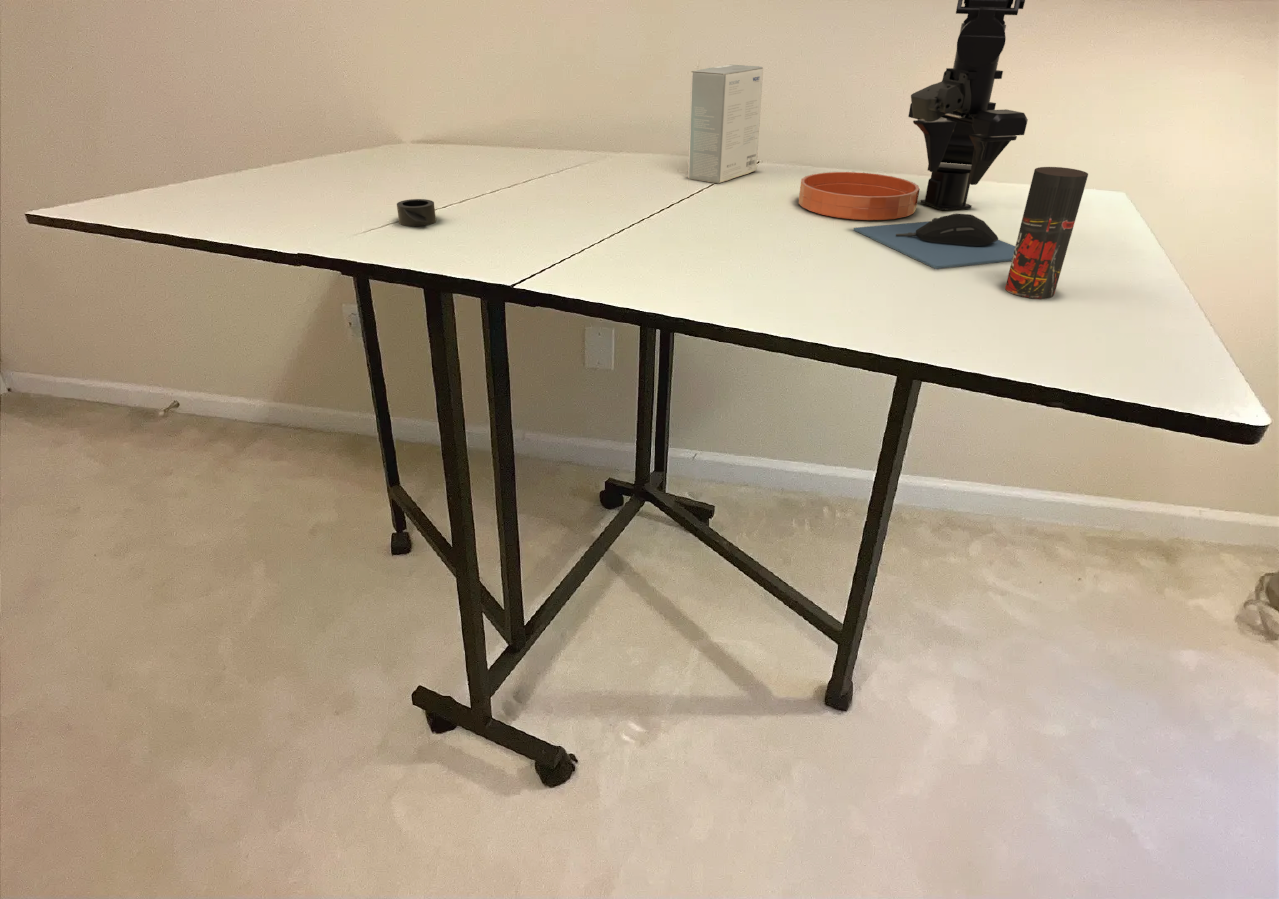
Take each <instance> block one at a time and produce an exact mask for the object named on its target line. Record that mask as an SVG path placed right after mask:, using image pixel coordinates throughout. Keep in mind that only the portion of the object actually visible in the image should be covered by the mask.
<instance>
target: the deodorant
mask: <svg viewBox="0 0 1279 899" xmlns="http://www.w3.org/2000/svg"><path fill="white" fill-rule="evenodd" d="M1088 177H1089V173H1088V172H1086V171H1084V170H1081V169H1076V168H1070V167H1062V166H1039V167H1036V168H1035V169H1034V170H1033V175H1032V179H1031V182H1030V187H1029V191H1028V194H1027V198H1026V201H1025V202H1026V203H1025V207H1024V210H1023V214H1022V219H1021V222H1020V226H1019V231H1018V235H1017V238H1016V243H1015V245H1014V246H1015V250H1014V254H1013V258H1012V261H1010V266H1009V271H1008V274H1007V278H1006V282H1005V286H1004V287H1005V288H1004V289H1005V291H1006V292H1008V293H1009V294H1012V295H1013V296H1016V297H1022V298H1027V299H1034V300H1045V299H1046V300H1047V299H1051V298H1053V297H1055V294H1056V290H1057V286H1058V282H1059V279H1060V275H1061V272H1062V269H1063V265H1064V262H1065V258H1066V255H1067V252H1068V248H1069V243H1070V242H1071V241H1070V240H1071V238H1072V234H1073V231H1074V226H1075V223H1076V220H1077V216H1078V213H1079V210H1080V206H1081V202H1082V198H1083V195H1084V191H1085V188H1086V184H1087V181H1088Z"/></svg>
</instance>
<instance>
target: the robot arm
mask: <svg viewBox="0 0 1279 899" xmlns="http://www.w3.org/2000/svg"><path fill="white" fill-rule="evenodd" d="M1025 2H1026V0H957V5H956V10H955V15H956V14H957V15H967V16H966V18H965V19H964V20H963V22H962V23H961V25H960V30H959V35H958V36H957V41H956V51H955V56H954V62H953V66H952V67H946V69H945V70H944V72H943V76H942V79H941V81H939V82H937V83H933V84H931V85H928V86H926V87H924V88H921V89H919V90H918V91H915V92H913V93H912V94H910V103H909V104H910V105H909V109H908V110H909V111H908V116H907V118H911V119H914V120H912V123H913V124H914V125H915V126H917V127H918V129H919V130H920V131H921V132H922V133H923V136H924V142H925V147H926V155H927V162H928V164H927V171H929V172H931V175H930V178H929V179H928V182H927V187H926V192H925V198H924V199H920V202H919V203H920V204H923V205H926V206H928V207H931V208H934V209H936V210H939V211H955V210H967V209H972V206H973V205H972V204H969V203H967V200H968V196H969V191H970V188H971V186H976V185H978V184H979V183H980V182H981V180H982V178H983V177H984V176H985V174H986V173H987V172H988V171H989V169H990V167H991V166H992V164H994V162H995V160H996V159H997V158H998V157H999V155H1000V154H1001V153H1002V152H1003V151H1004V150H1005V149H1006V147H1007V146H1008V145H1009V144H1010V143H1011V142H1012V141H1013V142H1014V141H1016V140H1017V138H1018V136H1024V135H1025V133H1026V128H1027V125H1028V120H1029V119H1028V117H1027V116H1026V113H1025V112H1021V111H1017V110H1012V109H1007V108H1006V109H1005V108H1004V109H996V106H997V103H996V102H993V101H991V97H992V92H993V89H994V88H993V87H994V83H995V80H1002V78H1003V73H1004V71H1003V70H1001V69H1000V70H999V69H998V65H999V60H1000V57H1001V54H1002V52H1003V51H1004V48H1005V44H1006V40H1007V39H1006V38H1007V37H1006V28H1007V24H1006V22H1005V16H1018V14H1019V10H1023V9H1024V6H1025ZM963 4H964V6H962V5H963ZM1013 4H1014V5H1013ZM1012 5H1013V7H1012Z"/></svg>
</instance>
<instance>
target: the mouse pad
mask: <svg viewBox="0 0 1279 899" xmlns="http://www.w3.org/2000/svg"><path fill="white" fill-rule="evenodd" d="M930 221H931V220H930ZM930 221H920V222H919V221H917V222H908V223H907V222H906V223H895V224H882V225H872V226H871V225H870V226H860V227H853V231H854V232H857V233H859V234H861V235H863V236H865V237H867V238H869V239H871V240H874V241H876V242H877V243H880V244H882V245H883V246H886V247H888V248H889V249H892V250H895V251H897V252H898V253H901V254H903V255H906V256H907V257H910V258H911V259H914V260H916V261H918V262H920V263H922V264H924V265H926V266H929V267H931V268H933V269H934V270H937V269H949V268H957V267H968V266H975V265H985V264H995V263H996V264H997V263H1003V262H1004V263H1006V262H1012V258H1013V254H1014V250H1015V246H1016V245H1013V244H1010V243H1008V242H1005V241H1002V240H1000V239H998V240H997V241H995V242H992V243H990V244H987V245H984V246H965V245H955V244H943V243H932V242H927V241H924V240H922V239H920V238H919V237H917V236H912V237H908V236H896V234H906V233H916V230H917V229H919V228H920V227H922V226H924V225H925V224H927V223H929V222H930Z"/></svg>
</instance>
